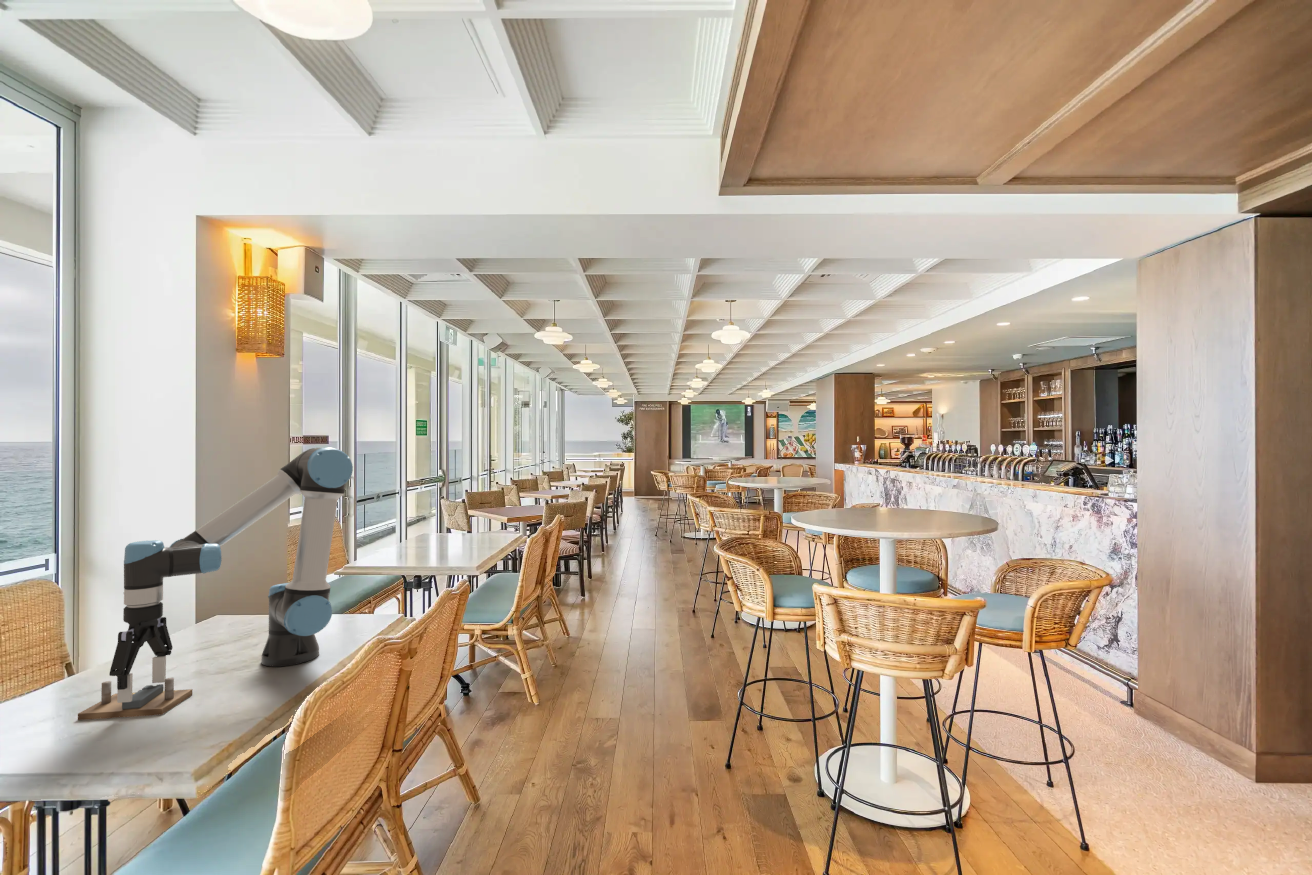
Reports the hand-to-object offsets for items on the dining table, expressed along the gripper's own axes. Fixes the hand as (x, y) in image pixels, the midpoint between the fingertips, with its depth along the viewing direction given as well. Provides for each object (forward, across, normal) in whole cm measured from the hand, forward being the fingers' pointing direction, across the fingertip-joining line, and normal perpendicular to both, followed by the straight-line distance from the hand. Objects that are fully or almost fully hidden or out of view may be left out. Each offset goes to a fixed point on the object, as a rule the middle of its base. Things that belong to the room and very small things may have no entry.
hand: (142, 691), depth 151 cm
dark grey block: (+2, 0, 0) cm, 2 cm away
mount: (+4, 0, -1) cm, 4 cm away
